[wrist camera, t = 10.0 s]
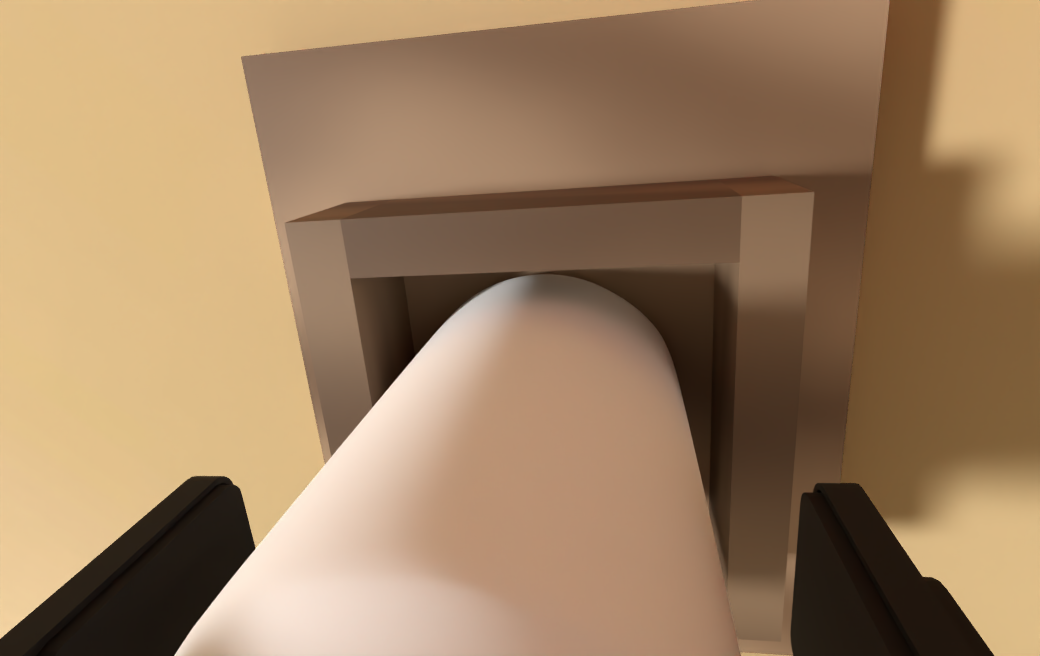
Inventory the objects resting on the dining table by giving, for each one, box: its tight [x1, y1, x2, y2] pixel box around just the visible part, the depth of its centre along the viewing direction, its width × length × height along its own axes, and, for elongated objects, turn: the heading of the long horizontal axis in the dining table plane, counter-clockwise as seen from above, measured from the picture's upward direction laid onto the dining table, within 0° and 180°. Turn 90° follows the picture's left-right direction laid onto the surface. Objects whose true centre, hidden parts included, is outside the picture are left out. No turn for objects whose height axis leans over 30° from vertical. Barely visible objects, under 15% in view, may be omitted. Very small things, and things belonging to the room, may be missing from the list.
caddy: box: [241, 0, 890, 655], centre depth 15 cm, size 17×14×4 cm
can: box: [174, 274, 741, 656], centre depth 10 cm, size 6×6×12 cm
